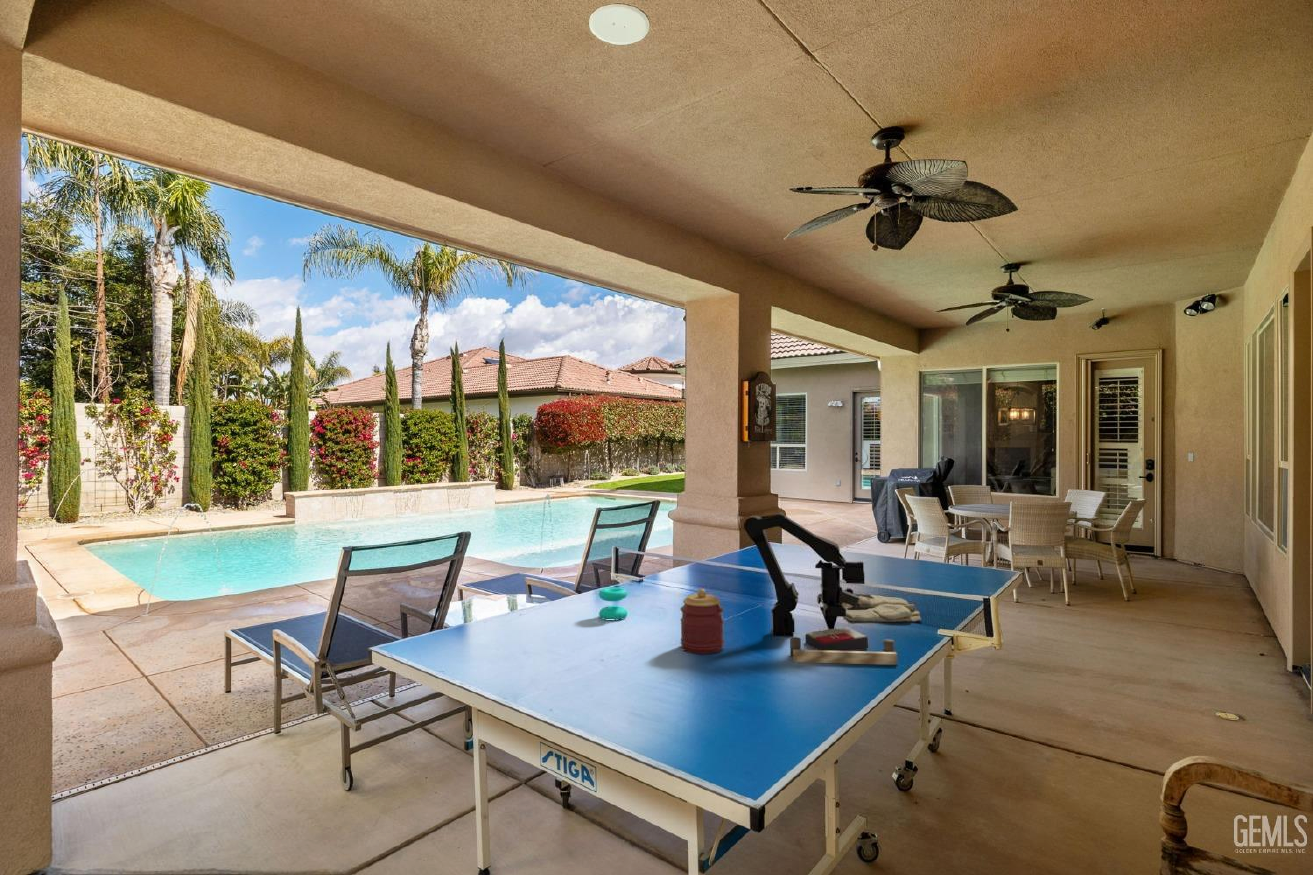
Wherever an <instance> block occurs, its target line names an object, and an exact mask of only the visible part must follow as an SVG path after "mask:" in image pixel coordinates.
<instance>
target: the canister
mask: <svg viewBox="0 0 1313 875" xmlns="http://www.w3.org/2000/svg"><path fill="white" fill-rule="evenodd" d="M682 601H683V603H684V604H683V605H682V606H681V607H680V609H679V610H680V611H681V612H682V614H681V615H682V616H681V618H680V626H681V628H680V629H681V632H680V633H681V635H680V636H681V637H680V644H681V649H682V650H683V651H685V652H687V653H691V654H697V655H698V654H699V655H709V654H710V655H712V654H715V653H718V652H721V651H722V650H723V649H724V645H725V639H724V621H725V620H724V617H723V611H724V610H725V609H724V607H723V606H721V601H722V600H721V599H719V598H717V596H715V595H714V594H710V593H709V594H708V593H707V592H706V590H705V589H704V588H700V589H698V591H697V593H695V594H690V595H688V596H687V597H686V598H684V599H682Z"/></svg>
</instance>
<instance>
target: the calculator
mask: <svg viewBox="0 0 1313 875" xmlns="http://www.w3.org/2000/svg"><path fill="white" fill-rule="evenodd" d="M868 639H869V638H868V636H866V635H864V634H862V633H860V632H858V631H856V630H854V629H853V628H850V627H839V628H835V627H834V629H828V628H827V629H823V630H817V631H808V632H807V633H806V634H805V644H807V645H809V646H811V647H812V646H813V648H814V649H815V650H829V651H857V650H856V649H859V650H867V649H866V648H868V649H869V642H868V641H869V640H868Z"/></svg>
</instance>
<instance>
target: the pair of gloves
mask: <svg viewBox="0 0 1313 875" xmlns="http://www.w3.org/2000/svg"><path fill="white" fill-rule="evenodd" d="M855 594H856V595H857V596H858V597H859V601H858V604H857V607H856V608H855V609H854V610H853V609H852V608H854V607H853V606H852V605H849V604H846V603H844V602H843V604H841V605H842V606H843V607H844V608H845V609H847V610H846V616H845V617H844V618H845V619H847V621H850V622H863V623H864V622H867V623H868V622H874V623H875V622H878V623H879V622H881V623H882V622H887V623H888V622H889V623H891V622H892V623H893V622H894V623H896V622H903V623H905V622H912V623H915V622H919V621H922V618H921V616H920V615H921V614H920V611H919V610H916V606H915V605H914V604H913V603H912V604H909V603H908V601H907V600H906V599H904V598H901V597H894V596H893V597H891V596H883V595H876V594H862V593H855ZM861 608H865V609H861ZM869 608H872V609H869ZM849 609H850V610H849ZM851 609H852V610H851Z"/></svg>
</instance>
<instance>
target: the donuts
mask: <svg viewBox="0 0 1313 875" xmlns="http://www.w3.org/2000/svg"><path fill="white" fill-rule="evenodd" d="M598 592H599V593H598V596H599V598H600V599H602V600H603V601H605V602H620V601H623V600H624V599H625V598H627V595H628V591H627V590H626V589H625V588H624V587H618V586H617V587H614V586H612V587H604V588H601V589H600V590H599V591H598ZM598 616H599V617H600V619H602V618H604V619H621V620H623V619H622V618H624V619H625V618H626V617H627V616H628V611H627V609H626V608H625V607H623V606H620V605H607V606H604V607H602V608H601V609H600V610H599V612H598ZM604 619H603V620H604Z"/></svg>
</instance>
